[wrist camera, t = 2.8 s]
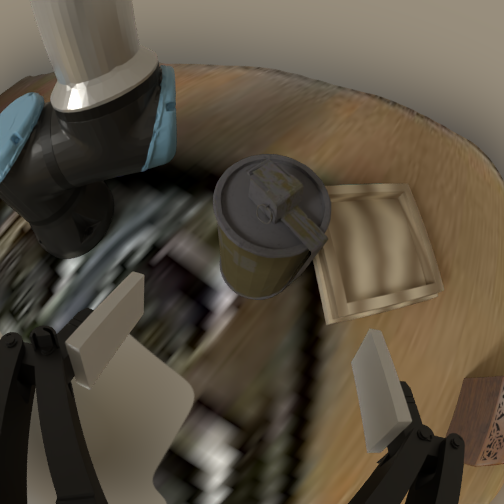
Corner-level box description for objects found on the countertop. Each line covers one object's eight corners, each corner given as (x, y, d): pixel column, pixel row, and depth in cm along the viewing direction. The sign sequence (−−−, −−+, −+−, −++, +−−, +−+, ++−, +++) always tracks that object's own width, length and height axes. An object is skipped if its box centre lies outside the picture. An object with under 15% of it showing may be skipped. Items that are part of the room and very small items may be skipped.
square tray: (326, 325, 38) (336, 321, 35) (297, 198, 45) (303, 184, 41) (432, 298, 41) (447, 292, 37) (398, 192, 47) (409, 181, 44)
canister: (204, 258, 41) (185, 174, 22) (260, 216, 43) (280, 119, 25) (255, 317, 38) (278, 278, 19) (310, 270, 41) (369, 198, 22)
